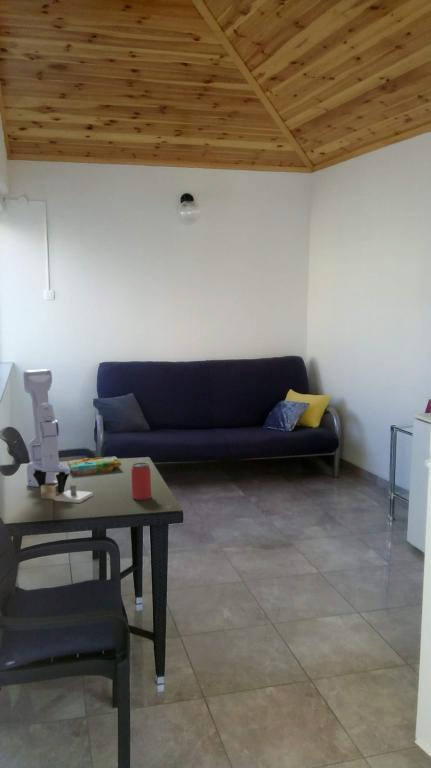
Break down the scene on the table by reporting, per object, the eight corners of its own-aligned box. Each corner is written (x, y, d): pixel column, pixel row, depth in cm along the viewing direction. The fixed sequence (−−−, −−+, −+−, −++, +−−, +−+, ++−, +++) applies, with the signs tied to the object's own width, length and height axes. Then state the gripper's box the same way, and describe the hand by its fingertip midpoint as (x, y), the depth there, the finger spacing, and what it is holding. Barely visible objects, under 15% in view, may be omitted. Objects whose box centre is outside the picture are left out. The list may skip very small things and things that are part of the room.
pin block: (54, 500, 234) (53, 487, 234) (68, 493, 243) (67, 480, 242) (79, 502, 231) (78, 489, 230) (92, 495, 239) (92, 482, 239)
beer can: (151, 499, 232) (150, 466, 231) (132, 501, 231) (131, 467, 230) (150, 494, 239) (149, 461, 237) (132, 495, 238) (130, 462, 236)
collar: (41, 498, 237) (40, 485, 237) (50, 493, 243) (49, 481, 242) (54, 499, 236) (54, 487, 235) (63, 494, 241) (62, 482, 240)
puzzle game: (67, 459, 277) (115, 454, 283) (68, 470, 277) (115, 465, 284) (71, 465, 266) (120, 460, 272) (71, 477, 266) (121, 471, 273)
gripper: (26, 456, 236) (28, 493, 238) (61, 458, 231) (63, 496, 233) (37, 451, 242) (39, 488, 244) (72, 453, 238) (74, 490, 239)
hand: (52, 491), depth 239 cm, fingers open, 7 cm apart
